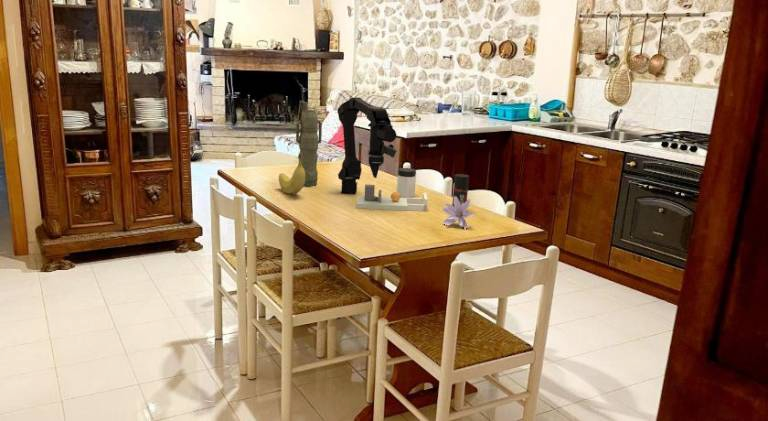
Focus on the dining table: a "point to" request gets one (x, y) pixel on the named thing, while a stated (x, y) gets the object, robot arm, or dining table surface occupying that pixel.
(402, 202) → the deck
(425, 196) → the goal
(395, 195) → the ball
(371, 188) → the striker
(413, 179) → the jar
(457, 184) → the deodorant
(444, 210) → the water lily
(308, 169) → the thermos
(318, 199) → the dining table surface
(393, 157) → the robot arm
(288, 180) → the banana
